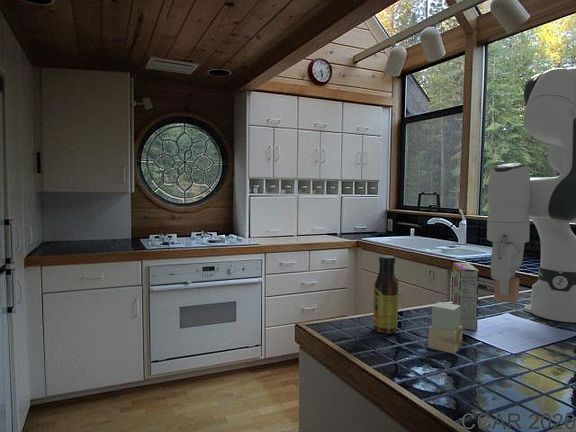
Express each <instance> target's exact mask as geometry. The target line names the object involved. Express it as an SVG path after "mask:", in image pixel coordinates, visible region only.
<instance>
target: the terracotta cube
mask: <svg viewBox="0 0 576 432" xmlns="http://www.w3.org/2000/svg"><path fill="white" fill-rule="evenodd" d="M509 287H510V289H509V294H508V295H501V294H500V286H499V281H498V280H497V279H494V288H493V289H494V295H493V296H494V297H493V300H494V301H495V302H496V301H498V302H505V303H512V304H513V303H514V304H516V303H517V302H518V300H519V298H520V277H516V276H515V277H511V278H510V280H509Z"/></svg>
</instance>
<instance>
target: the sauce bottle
mask: <svg viewBox="0 0 576 432" xmlns="http://www.w3.org/2000/svg"><path fill="white" fill-rule="evenodd" d="M378 262H379V269H378V274H377V277H376V280H375V282H374V284H373V311H372V312H373V315H372V316H373V319H372V324H373V329H374V330H375V332H377V333H380V334H387V335H389V334H390V335H391V334H394V333H396V332H397V331H398V321H399V319H398V318H399V315H398V314H399V281H398V278H397V277H396V275H395V263H396V257H395V255H394V256H393V255H387V254H383V255H379V256H378Z"/></svg>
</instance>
